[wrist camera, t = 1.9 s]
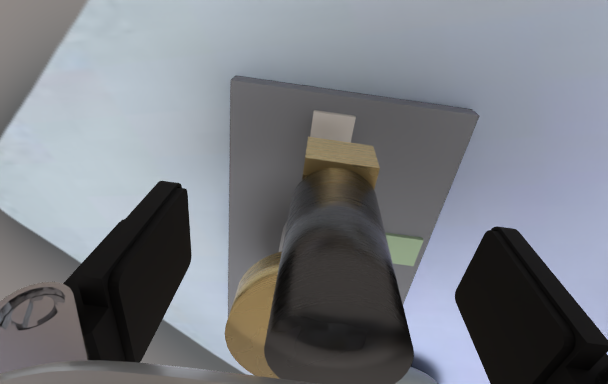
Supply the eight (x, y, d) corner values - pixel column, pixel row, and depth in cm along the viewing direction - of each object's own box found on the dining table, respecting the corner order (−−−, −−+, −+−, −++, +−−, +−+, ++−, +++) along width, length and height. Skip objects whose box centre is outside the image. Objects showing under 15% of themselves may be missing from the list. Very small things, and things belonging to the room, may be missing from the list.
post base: (471, 109, 20) (535, 159, 14) (386, 327, 30) (401, 411, 24) (235, 75, 19) (194, 111, 13) (231, 306, 30) (206, 385, 24)
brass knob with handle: (439, 153, 13) (562, 328, 6) (364, 358, 20) (383, 549, 13) (241, 125, 13) (143, 271, 6) (235, 340, 20) (185, 523, 13)
